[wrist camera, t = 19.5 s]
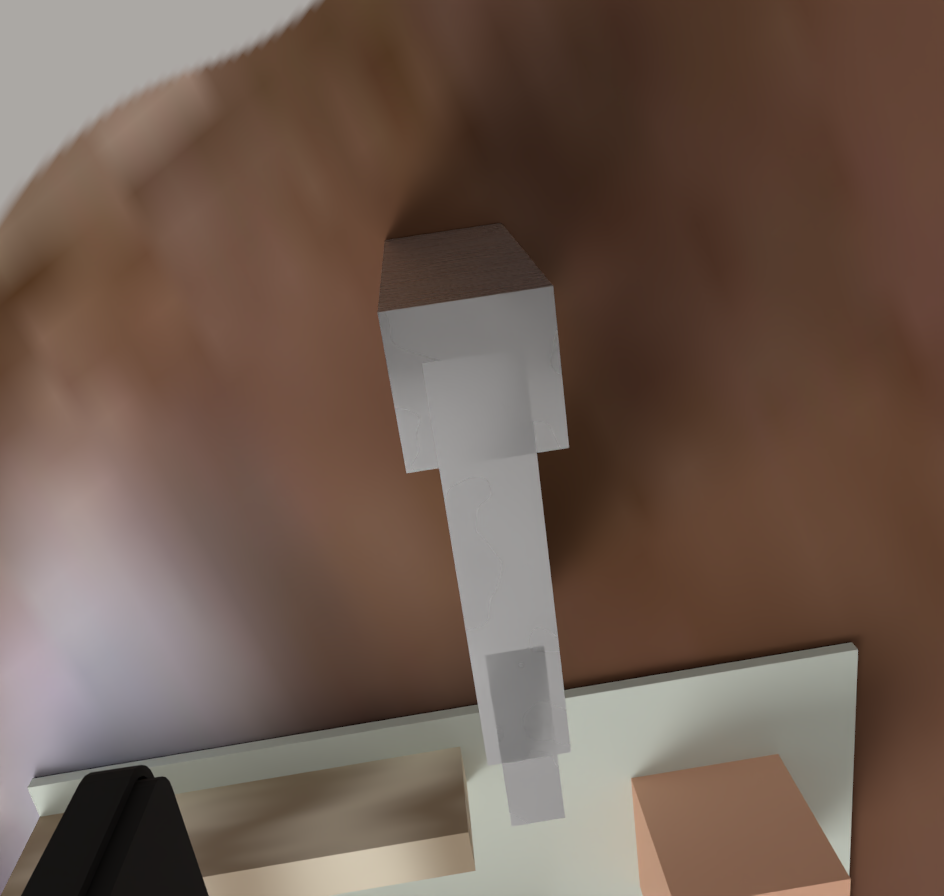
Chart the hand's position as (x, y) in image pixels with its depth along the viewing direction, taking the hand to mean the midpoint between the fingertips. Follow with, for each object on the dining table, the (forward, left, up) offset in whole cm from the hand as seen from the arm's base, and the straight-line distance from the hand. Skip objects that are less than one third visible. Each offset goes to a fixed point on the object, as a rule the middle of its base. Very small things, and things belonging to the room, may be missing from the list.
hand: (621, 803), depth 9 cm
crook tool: (+1, +2, -16) cm, 16 cm away
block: (-5, +17, -15) cm, 23 cm away
